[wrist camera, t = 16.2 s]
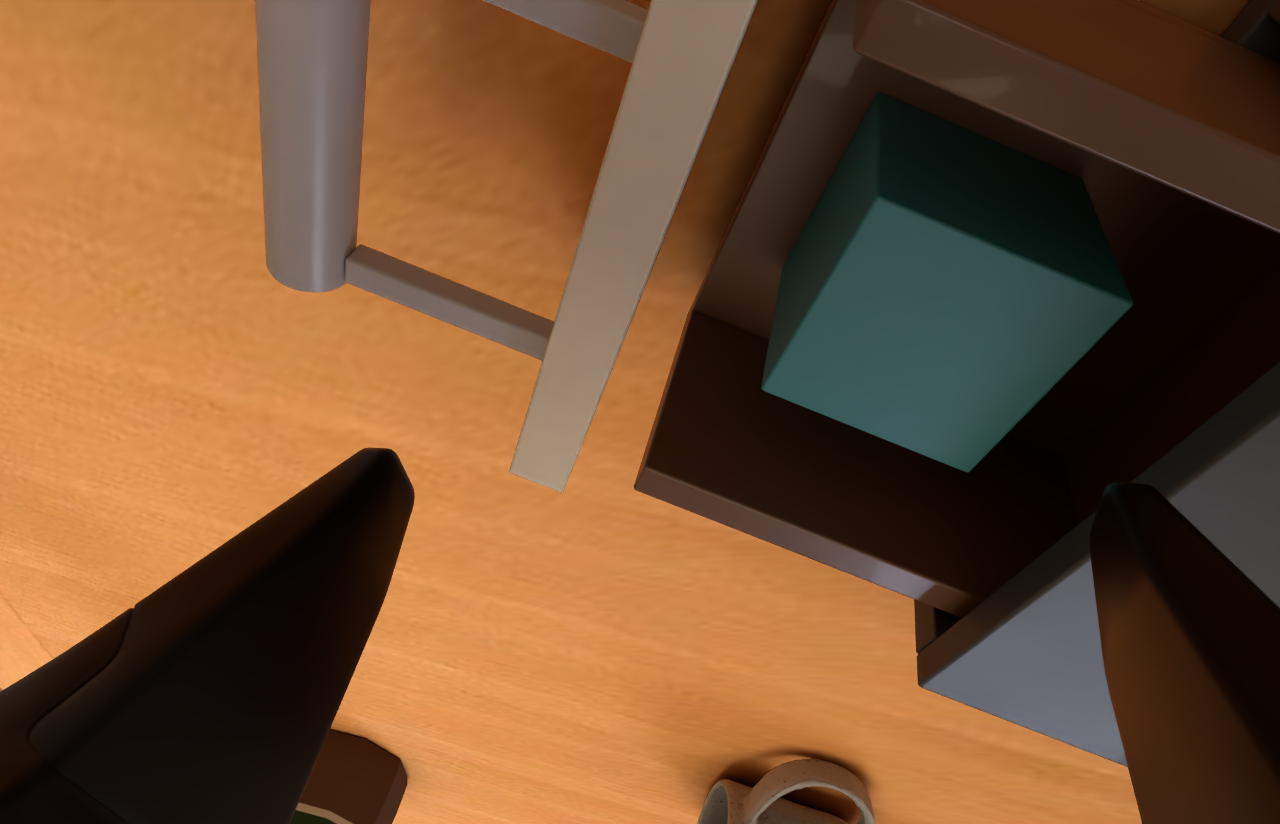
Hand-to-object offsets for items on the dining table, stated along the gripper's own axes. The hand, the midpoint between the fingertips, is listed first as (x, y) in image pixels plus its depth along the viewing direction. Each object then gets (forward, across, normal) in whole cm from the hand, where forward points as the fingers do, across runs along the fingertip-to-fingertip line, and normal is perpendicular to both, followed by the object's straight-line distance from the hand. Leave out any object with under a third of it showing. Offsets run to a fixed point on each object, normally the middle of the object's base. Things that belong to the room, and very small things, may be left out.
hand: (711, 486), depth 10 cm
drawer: (+10, -1, 0) cm, 10 cm away
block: (+9, -3, +1) cm, 10 cm away
